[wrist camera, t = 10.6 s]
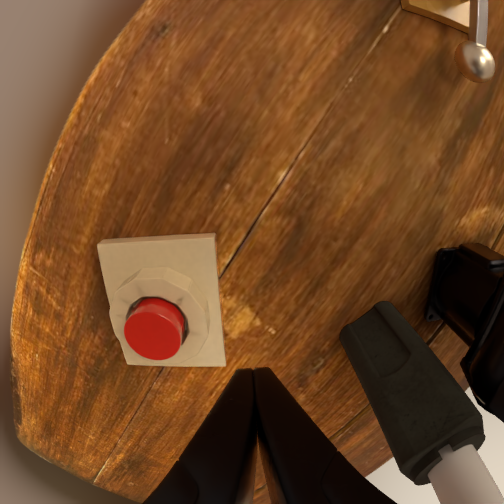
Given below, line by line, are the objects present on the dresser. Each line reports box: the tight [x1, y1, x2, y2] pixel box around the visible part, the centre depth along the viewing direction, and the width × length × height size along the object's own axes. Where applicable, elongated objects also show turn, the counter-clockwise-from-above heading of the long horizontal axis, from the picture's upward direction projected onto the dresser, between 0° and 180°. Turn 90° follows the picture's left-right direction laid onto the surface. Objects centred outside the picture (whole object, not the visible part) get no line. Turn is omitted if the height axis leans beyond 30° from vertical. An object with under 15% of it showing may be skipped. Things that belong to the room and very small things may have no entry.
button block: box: [97, 233, 227, 367], centre depth 19 cm, size 10×8×3 cm
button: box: [124, 298, 185, 360], centre depth 17 cm, size 4×4×2 cm
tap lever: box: [455, 0, 495, 83], centre depth 9 cm, size 13×3×3 cm, turn 3°
